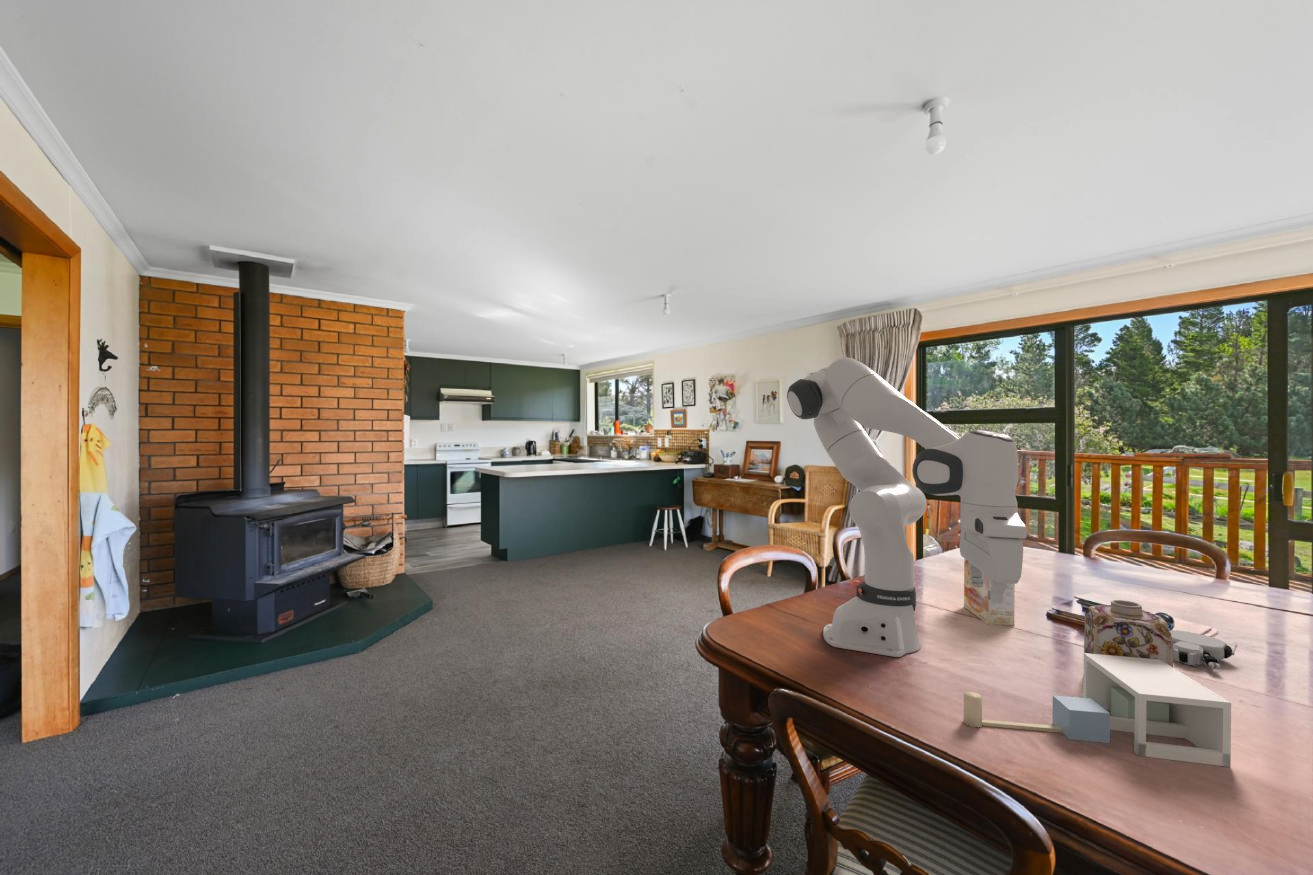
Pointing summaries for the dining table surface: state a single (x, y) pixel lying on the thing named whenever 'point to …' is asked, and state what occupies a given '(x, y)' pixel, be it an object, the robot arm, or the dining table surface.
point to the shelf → (1189, 708)
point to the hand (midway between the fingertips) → (985, 593)
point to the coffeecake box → (988, 601)
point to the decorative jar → (1127, 632)
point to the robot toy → (1199, 649)
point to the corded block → (1068, 717)
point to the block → (1126, 706)
